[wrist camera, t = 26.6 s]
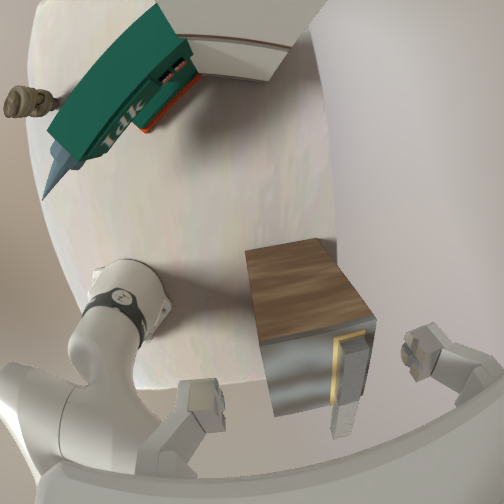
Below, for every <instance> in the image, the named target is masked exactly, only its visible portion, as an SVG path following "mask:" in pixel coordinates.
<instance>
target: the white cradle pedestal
mask: <svg viewBox="0 0 504 504" xmlns="http://www.w3.org/2000/svg"><path fill="white" fill-rule="evenodd" d="M155 1H156V2H157V4H158V5H159V7H160V9H161V10H162V12H163V13H164V15H165V17H166V18H167V20H168V22H169V23H170V25H171V27H172V28H173V30H174V32H175V33H176V35H177V37H178V38H187V41H188V43H189V45H190V47H191V50H192V52H193V54H194V55H193V56H191V57H190V59H191V60H192V62H193V64H194V66H195V67H196V69H197V71H198V73H199V74H201V75H203V76H213V77H224V78H232V79H240V80H247V81H254V82H260V83H266V84H267V83H268V81H269V80H270V78H271V77H272V75H273V74H274V72H275V71H276V69H277V68H278V66H279V65H280V63H281V62H282V61H283V59H284V58H285V56H286V55H287V53H288V52H289V51H290V49H291V48H292V46H293V45H294V44H295V42H296V41H297V39H298V38H299V37H300V35H301V34H302V33H303V31H304V30H305V29H306V27H307V26H308V25H309V23H310V22H311V21H312V19H313V18H314V17H315V15H316V14H317V13H318V12H319V10H320V9H321V8H322V7H323V5H324V4H325V3H326V2H327V0H155Z"/></svg>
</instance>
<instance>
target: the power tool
mask: <svg viewBox="0 0 504 504" xmlns="http://www.w3.org/2000/svg"><path fill="white" fill-rule="evenodd" d="M193 55H194V54H193V52H192V50H191V47H190V45H189V43H188V41H187V38H178V37H177V35H176V33H175V32H174V30H173V28H172V27H171V25H170V23H169V22H168V20H167V18H166V17H165V15H164V13H163V12H162V10H161V9H160V7H159V5H158V4H157V3H156V4H155V5H153V6H152V7H151V8H150V9H149V10H147V11H146V12H145V13H144V14H143V15H142V16H141V17H139V18H138V19H137V20H136V21H135V22H134V23H133V24H132V25H131V26H130V27H129V28H128V29H127V30H126V31H125V32H124V33H123V34H122V35H121V36H120V37H119V38H118V39H117V40H116V41H115V42H114V43H113V44H112V45H111V46H110V47H109V48H108V49H107V50H106V51H105V52H104V53H103V55H102V56H101V57H100V58H99V59H98V60H97V61H96V63H95V64H94V65H93V66H92V67H91V68H90V70H89V71H88V72H87V73H86V75H85V76H84V77H83V78H82V80H81V81H80V82H79V84H78V85H77V86H76V88H75V89H74V90H73V92H72V93H71V94H70V96H69V97H68V99H67V100H66V101H65V103H64V104H63V106H62V107H61V109H60V110H59V112H58V113H57V115H56V116H55V118H54V120H53V121H52V123H51V124H50V126H49V128H48V129H47V131H48V133H49V134H50V135H51V136H52V137H53V138H54V139H55V141H54V143H53V144H52V146H51V148H50V153H51V155H52V156H53V158H54V161H53V164H52V167H51V170H50V173H49V177H48V180H47V183H46V187H45V191H44V194H43V198H42V200H43V199H44V198H45V197H46V196H47V194H48V193H49V192H50V191H51V190H52V188H53V187H54V186H55V185H56V184H57V183H58V182H59V180H60V179H61V178H62V177H63V176H64V175H65V174H66V173H67V172H68V170H69V169H71V170H79V169H80V168H81V167H82V166H83V164H84V163H85V161H86V160H89V159H93V158H97V157H101V156H102V155H103V154H104V153H107V152H108V151H109V149H110V148H111V147H112V145H113V144H114V143H115V141H116V140H117V139H118V138H119V136H120V135H121V134H122V133H123V131H124V130H125V129H126V128H127V127H128V125H129V124H130V123H131V122H133V123H134V124H135V125H136V126H137V127H138V128H139V129H140V130H142V131H143V132H144V133H147V132H148V131H149V130H150V129H151V128H152V127H153V125H154V124H155V123H156V122H157V121H158V120H159V119H160V118H161V117H162V116H163V114H164V113H165V112H166V111H167V110H168V109H169V108H170V107H171V106H172V105H173V104H174V103H175V102H176V101H177V100H178V99H179V98H180V97H181V96H182V95H183V94H184V93H185V92H186V91H187V90H188V89H189V88H190V87H191V86H192V85H193V84H194V83H196V82H197V81H198V80H199V79H200V78H201V77H202V76H203V75H201V74H199V73H198V71H197V69H196V67H195V66H194V64H193V62H192V60H191V59H190V57H191V56H193Z"/></svg>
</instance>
